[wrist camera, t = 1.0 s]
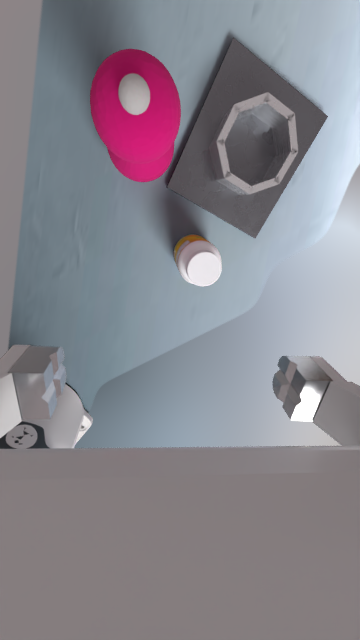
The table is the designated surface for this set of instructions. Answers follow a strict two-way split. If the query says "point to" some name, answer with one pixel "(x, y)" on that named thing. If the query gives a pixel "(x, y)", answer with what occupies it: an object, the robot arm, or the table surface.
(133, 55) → the pepper mill
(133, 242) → the table surface
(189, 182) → the collar
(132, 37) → the table surface
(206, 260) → the supplement bottle
